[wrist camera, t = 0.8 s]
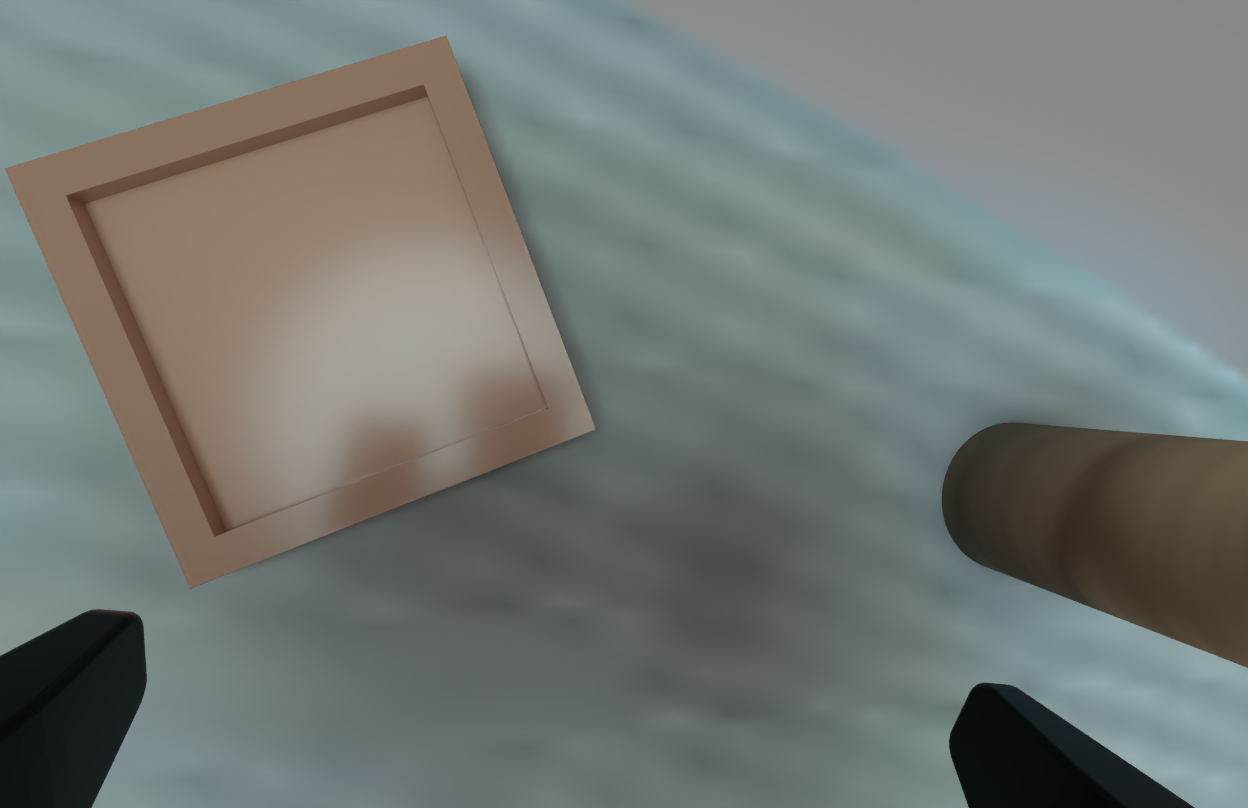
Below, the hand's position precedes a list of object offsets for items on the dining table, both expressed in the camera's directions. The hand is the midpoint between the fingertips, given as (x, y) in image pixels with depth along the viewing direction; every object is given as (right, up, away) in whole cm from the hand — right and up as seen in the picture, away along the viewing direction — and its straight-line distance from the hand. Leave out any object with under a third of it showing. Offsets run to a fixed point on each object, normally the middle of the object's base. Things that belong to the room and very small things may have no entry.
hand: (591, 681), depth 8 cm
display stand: (-8, +6, +13) cm, 16 cm away
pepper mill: (+13, 0, +17) cm, 21 cm away
